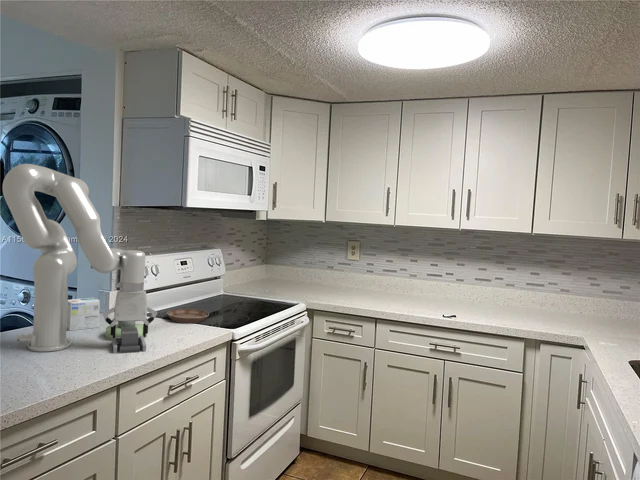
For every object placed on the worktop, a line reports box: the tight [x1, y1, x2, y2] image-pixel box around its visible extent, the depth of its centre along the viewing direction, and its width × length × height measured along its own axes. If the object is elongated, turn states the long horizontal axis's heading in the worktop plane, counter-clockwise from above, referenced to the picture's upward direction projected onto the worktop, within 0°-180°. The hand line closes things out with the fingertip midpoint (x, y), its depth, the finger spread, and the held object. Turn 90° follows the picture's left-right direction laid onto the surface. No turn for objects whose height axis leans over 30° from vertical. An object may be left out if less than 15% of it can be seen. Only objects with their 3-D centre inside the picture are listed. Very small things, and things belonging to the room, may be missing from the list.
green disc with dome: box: [105, 321, 148, 354], centre depth 165 cm, size 14×26×7 cm, turn 26°
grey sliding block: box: [119, 327, 141, 354], centre depth 158 cm, size 6×10×6 cm, turn 26°
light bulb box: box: [67, 297, 101, 332], centre depth 178 cm, size 11×7×11 cm, turn 134°
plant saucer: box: [166, 308, 210, 324], centre depth 202 cm, size 18×18×3 cm
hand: (129, 336), depth 159 cm, fingers open, 9 cm apart
